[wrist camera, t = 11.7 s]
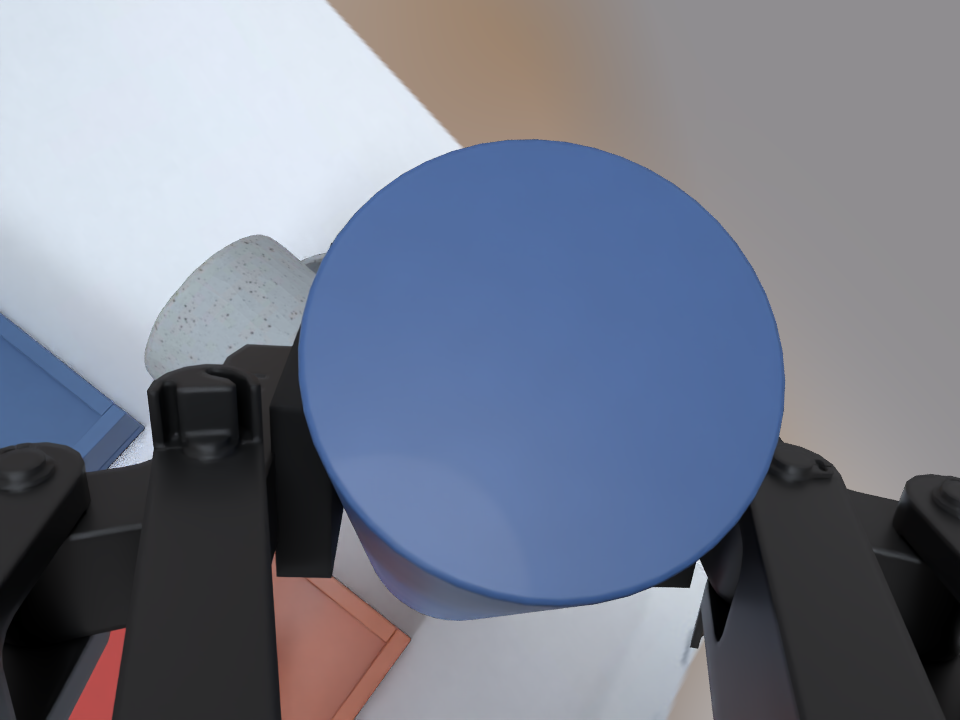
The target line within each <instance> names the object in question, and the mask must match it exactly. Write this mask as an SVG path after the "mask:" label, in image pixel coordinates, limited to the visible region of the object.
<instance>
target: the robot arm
mask: <svg viewBox="0 0 960 720" xmlns="http://www.w3.org/2000/svg"><path fill="white" fill-rule="evenodd" d="M331 245H332V243H331ZM331 245H330V246H331ZM300 329H301V324H300V327H299V329H298V332H297V335H296V337H295V340H294V343H293V345H292V346H278V345H258V344H246V345H245V346H243V347H241V348H240V349H238V350H237V351H235V352H234V353H232V354H231V355H229V356H228V357H227V358H226V360H225V361H224V363H223V364H201V365H193V366H186V367H183V368H179V369H176V370H173V371H170V372H167V373H165V374H164V375H162V376H161V377H159V378H157V379H156V380H154V381H153V382H152V384H151V385H150V387H149V389H148V390H147V395H148V404H149V412H150V421H151V429H152V437H153V446H154V452H153V458H152V459H151V460H148V461H145V462H142V463H140V464H135V465H130V466H125V467H120V468H113V469H106V470H99V471H92V472H86V468H85V463H84V460H83V458H82V456H81V454H80V452H78V451H76V450H74V449H73V448H71V447H69V446H67V445H62V444H56V443H50V442H41V443H21V444H17V445H15V446H14V445H11V446H7V447H4V448H1V449H0V720H68V719H69V717H70V715H71V713H72V711H73V709H74V707H75V705H76V703H77V702H78V700H79V698H80V696H81V694H82V692H83V690H84V688H85V686H86V684H87V682H88V680H89V678H90V676H91V674H92V672H93V670H94V668H95V666H96V664H97V662H98V660H99V658H100V656H101V655H102V653H103V651H104V649H105V647H106V645H107V643H108V641H109V637H110V632H111V631H114V630H119V629H123V628H126V631H125V637H124V644H123V650H122V657H121V663H120V669H119V676H118V682H117V689H116V695H115V701H114V708H113V714H112V720H282V719H281V703H280V688H279V673H278V657H277V642H276V627H275V611H274V596H273V580H272V561H273V558H274V554H276V577H302V578H332V572H333V566H334V560H335V555H336V549H337V543H338V537H339V531H340V525H341V519H342V514H343V508H344V507H343V505H342V503H341V501H340V498H339V496H338V494H337V492H336V490H335V488H334V486H333V484H332V482H331V480H330V478H329V476H328V474H327V472H326V470H325V467H324V465H323V463H322V461H321V459H320V457H319V455H318V452H317V450H316V448H315V446H314V444H313V441H312V438H311V434H310V431H309V428H308V425H307V421H306V418H305V415H304V411H303V405H302V399H301V392H300V386H299V377H298V345H299V337H300ZM700 561H701V563H702V565H703V568H704V570H705V572H706V574H707V577H708V579H707V582H706V586H705V590H704V594H703V597H702V601H701V605H700V609H699V612H698V616H697V620H696V624H695V628H694V631H693V635H692V640H691V645H690V647H692V648H697V649H698V647H699V643H700V640H701V637H702V636H704V639H705V647H706V657H707V665H708V675H709V684H710V692H711V701H712V710H713V719H714V720H960V478H957V477H953V476H941V475H934V474H929V475H918V476H915V477H913V478H911V479H910V480H908V481H907V482H906V485H905V487H904V490H903V492H902V495H901V498H900V500H899V501H896V500H892V499H887V498H882V497H878V496H873V495H869V494H864V493H860V492H856V491H852V490H849V489H847V488H846V486H845V484H844V481H843V479H842V477H841V475H840V473H839V472H838V471H837V470H836V468H835V467H834V466H833V464H831V463H830V462H828V461H827V460H826V459H824V458H823V457H821V456H820V455H819V454H816V453H814V452H812V451H809V450H807V449H805V448H802V447H800V446H796V445H792V444H787V443H784V442H783V441H782V440H781V438H780V437H779V439H778V443H777V446H776V449H775V452H774V455H773V458H772V461H771V464H770V467H769V470H768V472H767V474H766V476H765V478H764V480H763V482H762V484H761V486H760V488H759V490H758V492H757V494H756V496H755V498H754V500H753V501H752V503H751V504H750V505H749V507H748V508H747V510H746V511H745V513H744V514H743V515H742V517H741V518H740V520H739V521H738V523H737V524H736V525H735V526H734V527H733V528H732V529H731V530H730V531H729V533H728V534H727V535H726V536H725V537H724V538H723V539H722V540H721V541H720V542H719V543H718V544H717V545H716V546H715V547H714V548H713V549H712V550H710V551H709V552H708V553H707V554H705V555H704V556H703V557H702V558H700ZM695 565H696V562H695V563H694V564H693V565H691V566H690V567H689V568H687V569H685V570H684V571H682V572H680V573H678V574H677V575H675V576H673V577H671V578H670V579H668V580H666V581H664V582H663V583H661V584H659V585H656V586H654V587H677V588H690V584H691V581H692V577H693V573H694V569H695Z"/></svg>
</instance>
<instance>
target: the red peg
mask: <svg viewBox="0 0 960 720" xmlns="http://www.w3.org/2000/svg"><path fill="white" fill-rule="evenodd" d="M125 631H126V628H123V629H119V630H114V631H111V632H110V637H109V641H108V643H107V645H106V647H105V649H104V651H103V653H102V655H101V656H100V658H99V660H98V662H97V664H96V666H95V668H94V670H93V672H92V674H91V676H90V678H89V680H88V682H87V684H86V686H85V688H84V690H83V692H82V694H81V696H80V698H79V700H78V702H77V703H76V705H75V707H74V709H73V711H72V713H71V715H70V717H69V719H68V720H112V714H113V708H114V701H115V695H116V689H117V682H118V676H119V669H120V663H121V657H122V650H123V644H124V637H125Z"/></svg>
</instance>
